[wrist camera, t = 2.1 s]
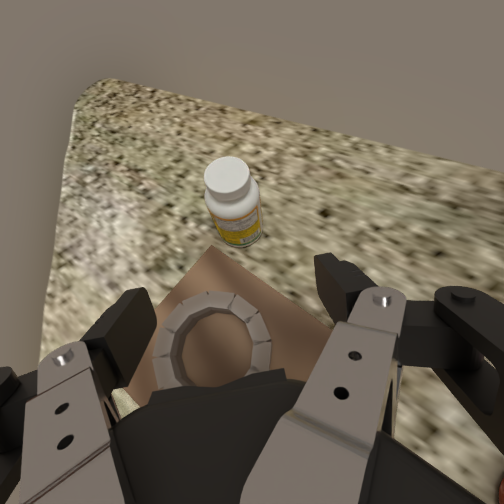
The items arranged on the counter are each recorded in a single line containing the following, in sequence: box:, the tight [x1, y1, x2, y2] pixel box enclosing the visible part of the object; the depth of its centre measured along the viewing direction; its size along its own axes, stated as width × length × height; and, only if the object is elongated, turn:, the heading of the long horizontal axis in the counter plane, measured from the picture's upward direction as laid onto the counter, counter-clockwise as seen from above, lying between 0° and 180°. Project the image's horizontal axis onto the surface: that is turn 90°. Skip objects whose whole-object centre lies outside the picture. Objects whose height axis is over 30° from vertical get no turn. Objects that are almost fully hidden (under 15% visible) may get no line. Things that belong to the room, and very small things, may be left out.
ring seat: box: [123, 245, 333, 407], centre depth 23 cm, size 16×16×4 cm
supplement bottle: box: [204, 157, 263, 247], centre depth 26 cm, size 5×5×10 cm
